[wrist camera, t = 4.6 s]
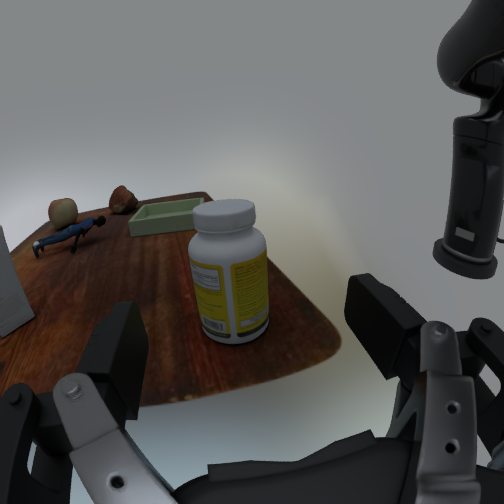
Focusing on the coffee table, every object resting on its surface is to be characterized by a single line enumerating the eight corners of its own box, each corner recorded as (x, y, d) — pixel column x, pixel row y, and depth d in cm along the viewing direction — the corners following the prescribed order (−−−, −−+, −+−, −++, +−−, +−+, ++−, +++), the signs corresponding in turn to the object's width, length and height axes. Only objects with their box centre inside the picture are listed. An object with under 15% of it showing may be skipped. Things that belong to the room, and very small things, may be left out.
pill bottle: (265, 303, 28) (261, 194, 23) (272, 344, 22) (270, 213, 17) (204, 307, 27) (189, 199, 23) (198, 348, 22) (174, 221, 17)
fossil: (111, 196, 74) (119, 169, 69) (136, 203, 78) (145, 176, 73) (103, 222, 65) (110, 191, 60) (131, 229, 69) (140, 200, 64)
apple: (49, 230, 60) (43, 203, 57) (74, 220, 67) (69, 194, 63) (57, 234, 56) (50, 204, 52) (85, 223, 62) (79, 194, 59)
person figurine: (32, 273, 39) (107, 242, 44) (23, 252, 37) (98, 219, 42) (47, 252, 49) (113, 225, 53) (40, 234, 47) (106, 206, 51)
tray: (205, 210, 63) (203, 197, 62) (204, 228, 51) (203, 212, 50) (145, 217, 61) (143, 205, 60) (131, 237, 49) (128, 221, 48)
